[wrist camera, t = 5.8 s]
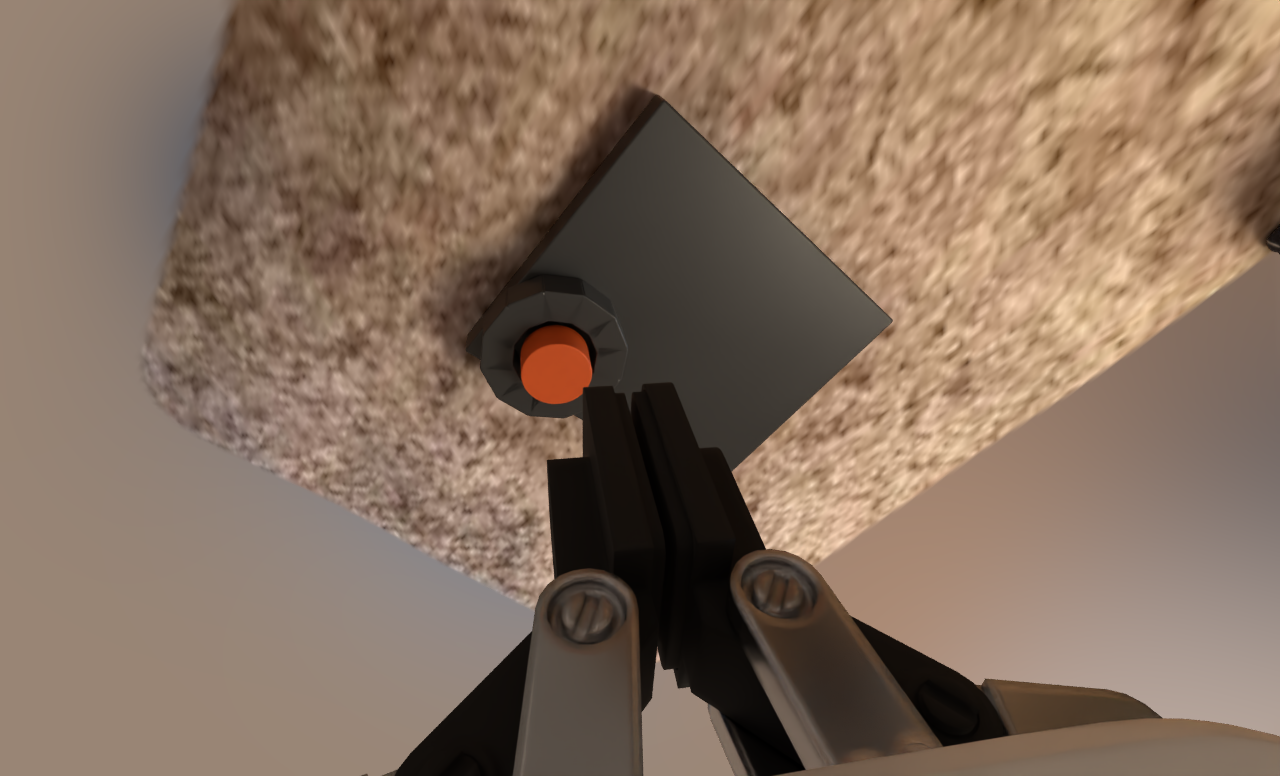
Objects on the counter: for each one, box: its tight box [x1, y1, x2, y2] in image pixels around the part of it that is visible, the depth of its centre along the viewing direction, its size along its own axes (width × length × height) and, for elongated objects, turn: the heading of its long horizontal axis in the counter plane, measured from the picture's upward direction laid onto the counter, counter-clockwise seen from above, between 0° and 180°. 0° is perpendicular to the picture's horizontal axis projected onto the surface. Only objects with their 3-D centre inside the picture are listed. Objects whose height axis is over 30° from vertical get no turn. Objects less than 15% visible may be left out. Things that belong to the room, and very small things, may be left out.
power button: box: [521, 325, 592, 404], centre depth 24 cm, size 3×3×2 cm
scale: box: [466, 95, 893, 472], centre depth 26 cm, size 14×12×3 cm
